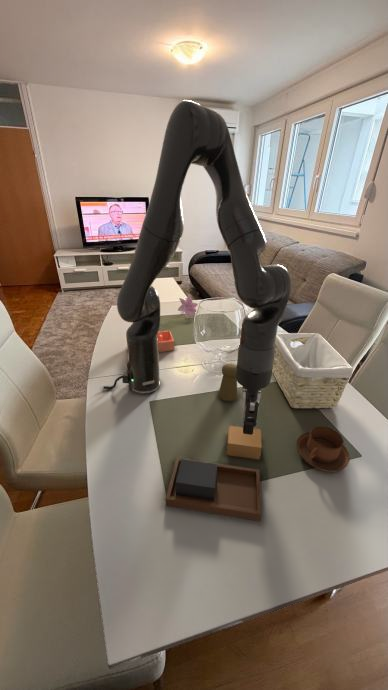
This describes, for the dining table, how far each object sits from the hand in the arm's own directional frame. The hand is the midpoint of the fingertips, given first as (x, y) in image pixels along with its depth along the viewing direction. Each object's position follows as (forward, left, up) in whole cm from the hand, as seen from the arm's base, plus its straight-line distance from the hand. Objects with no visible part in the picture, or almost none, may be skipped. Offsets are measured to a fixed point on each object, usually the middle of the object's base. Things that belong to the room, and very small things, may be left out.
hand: (247, 420), depth 71 cm
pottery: (-38, +47, -9) cm, 61 cm away
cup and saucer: (+19, +1, -9) cm, 21 cm away
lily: (-29, +83, -9) cm, 89 cm away
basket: (+18, +29, -9) cm, 36 cm away
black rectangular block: (-10, -13, -9) cm, 19 cm away
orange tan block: (0, 0, -9) cm, 9 cm away
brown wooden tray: (-6, -13, -9) cm, 17 cm away
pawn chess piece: (-5, +21, -9) cm, 24 cm away
